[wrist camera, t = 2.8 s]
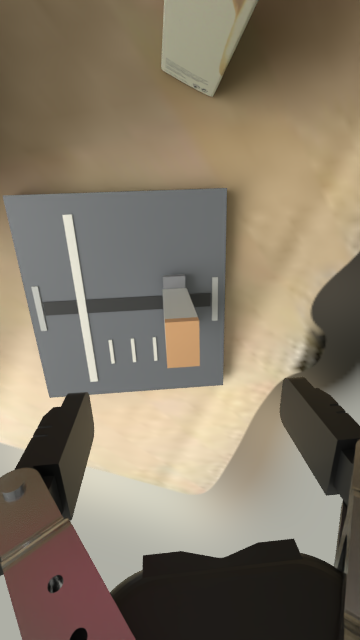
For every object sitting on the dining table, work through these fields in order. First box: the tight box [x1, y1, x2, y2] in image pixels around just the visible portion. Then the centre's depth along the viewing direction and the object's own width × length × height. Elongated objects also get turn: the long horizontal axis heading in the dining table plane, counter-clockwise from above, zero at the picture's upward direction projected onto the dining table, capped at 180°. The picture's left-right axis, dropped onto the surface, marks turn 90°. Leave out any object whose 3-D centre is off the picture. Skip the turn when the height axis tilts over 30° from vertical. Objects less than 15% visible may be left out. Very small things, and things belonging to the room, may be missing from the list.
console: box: [3, 188, 227, 398], centre depth 26 cm, size 17×18×2 cm
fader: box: [162, 274, 200, 368], centre depth 21 cm, size 2×5×8 cm, turn 2°
